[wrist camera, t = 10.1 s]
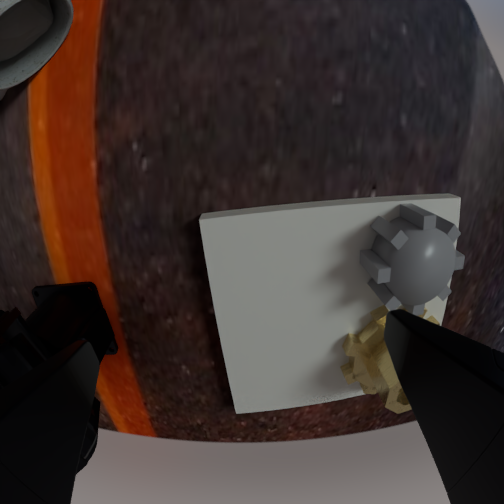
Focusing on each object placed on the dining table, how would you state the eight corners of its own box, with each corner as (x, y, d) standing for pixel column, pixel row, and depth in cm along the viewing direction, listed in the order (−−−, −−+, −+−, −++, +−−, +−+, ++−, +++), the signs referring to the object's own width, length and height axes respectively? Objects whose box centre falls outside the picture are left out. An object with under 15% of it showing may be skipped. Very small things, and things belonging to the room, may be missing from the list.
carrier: (236, 401, 25) (236, 442, 21) (201, 213, 19) (191, 237, 15) (419, 367, 25) (440, 399, 21) (449, 193, 19) (489, 209, 15)
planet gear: (337, 392, 23) (353, 438, 19) (344, 311, 20) (370, 358, 16) (421, 371, 24) (445, 409, 19) (441, 292, 20) (478, 328, 16)
